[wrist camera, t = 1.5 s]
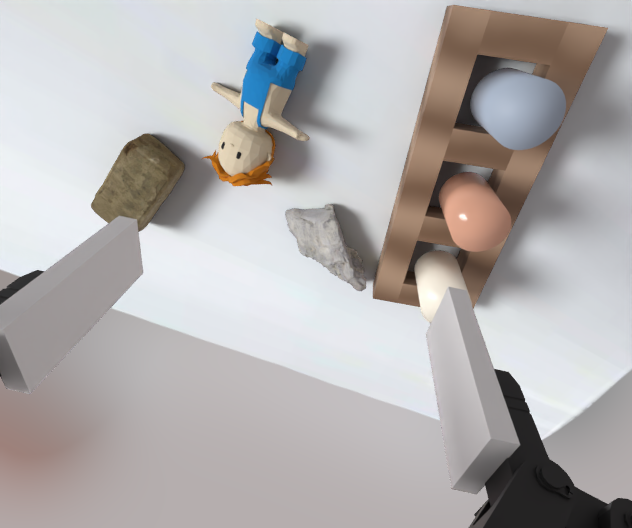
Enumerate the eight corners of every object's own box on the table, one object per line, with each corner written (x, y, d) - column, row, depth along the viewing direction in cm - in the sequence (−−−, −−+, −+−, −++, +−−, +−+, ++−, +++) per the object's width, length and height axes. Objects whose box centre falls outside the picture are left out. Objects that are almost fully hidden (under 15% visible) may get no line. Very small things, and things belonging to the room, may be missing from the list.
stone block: (192, 162, 42) (172, 177, 38) (150, 225, 48) (128, 244, 44) (148, 126, 41) (122, 138, 37) (110, 196, 46) (84, 213, 42)
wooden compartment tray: (447, 6, 31) (453, 4, 29) (589, 27, 31) (608, 27, 28) (372, 284, 48) (372, 298, 46) (464, 300, 48) (469, 315, 45)
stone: (325, 286, 50) (322, 306, 47) (280, 211, 44) (274, 228, 41) (370, 271, 48) (370, 291, 44) (329, 191, 42) (326, 206, 39)
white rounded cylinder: (421, 246, 41) (429, 284, 35) (464, 254, 40) (479, 293, 35) (409, 281, 43) (415, 321, 38) (450, 288, 43) (462, 330, 37)
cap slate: (482, 63, 31) (508, 73, 25) (540, 72, 30) (579, 84, 25) (462, 123, 33) (481, 144, 27) (515, 131, 33) (546, 155, 27)
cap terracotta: (447, 168, 36) (461, 196, 30) (497, 176, 35) (521, 206, 30) (432, 212, 38) (443, 246, 32) (478, 220, 38) (497, 256, 32)
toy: (327, 54, 29) (262, 217, 36) (353, 68, 34) (292, 208, 41) (214, -4, 31) (173, 158, 38) (254, 17, 37) (212, 156, 44)
